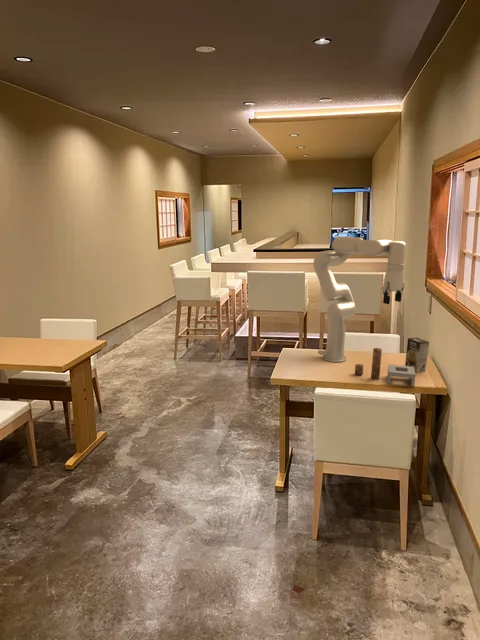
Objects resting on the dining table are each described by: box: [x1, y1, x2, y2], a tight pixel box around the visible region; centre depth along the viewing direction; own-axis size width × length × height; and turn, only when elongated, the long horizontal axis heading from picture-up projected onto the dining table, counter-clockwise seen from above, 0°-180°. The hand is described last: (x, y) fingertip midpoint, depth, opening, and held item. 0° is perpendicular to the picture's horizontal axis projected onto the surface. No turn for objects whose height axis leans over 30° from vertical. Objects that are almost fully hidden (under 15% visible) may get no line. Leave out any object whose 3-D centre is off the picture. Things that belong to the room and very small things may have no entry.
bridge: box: [387, 363, 416, 387], centre depth 244 cm, size 12×12×6 cm
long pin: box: [370, 347, 383, 380], centre depth 246 cm, size 4×4×15 cm
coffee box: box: [404, 336, 430, 374], centre depth 261 cm, size 9×6×16 cm
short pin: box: [354, 363, 364, 377], centre depth 252 cm, size 4×4×5 cm
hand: (392, 302), depth 244 cm, fingers open, 9 cm apart
